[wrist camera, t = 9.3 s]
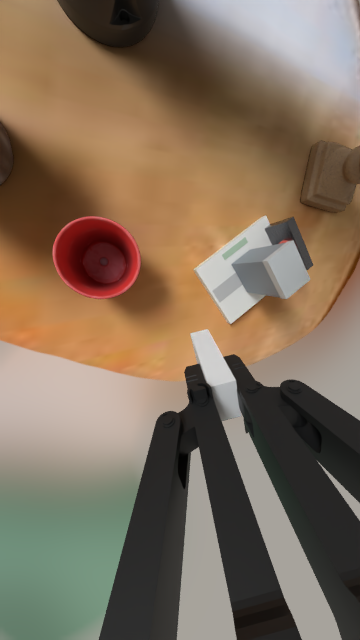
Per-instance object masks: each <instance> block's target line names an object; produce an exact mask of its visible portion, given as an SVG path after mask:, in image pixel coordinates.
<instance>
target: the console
mask: <svg viewBox="0 0 360 640" xmlns="http://www.w3.org/2000/svg"><path fill="white" fill-rule="evenodd" d="M292 240H294V243H295V245H296V247H297V250H298V252H299V254H300V257H301V259H302V261H303V264H304V266H305V268H306V270H308V269H309V268H310V267H312V266H313V263H312V261H311V258H310V256H309V253H308V251H307V248H306V246H305V244H304V241H303V239H302V236H301V234H300V231H299V229H298V226H297V224H296V222H295V219H294V217H291V218H288V219H285V220H282V221H279V222H276V223H273V224H270V223H269V221H268V219H267V217H266V215H265V216H263V217H261V218H259V219H258V220H257V221H256V222H254V223H253V224H252V225H250V226H249V227H248V228H246V229H245V230H244V231H243V232H241V233H240V234H239V235H237V236H236V237H235V238H233V239H232V240H231V241H230V242H228V243H227V244H226V245H224V246H223V247H222V248H221V249H219V250H218V251H217V252H215V253H214V254H213V255H211V256H210V257H209V258H208V259H206V260H205V261H204V262H202V263H201V264H200V265H198V266H197V267H196V268H195V269H193V270H194V272H195V274H196V275H197V277H198V278H199V280H200V281H201V283H202V284H203V286H204V287H205V289H206V290H207V292H208V294H209V295H210V297H211V298H212V300H213V301H214V303H215V304H216V306H217V307H218V309H219V311H220V312H221V314H222V315H223V317H224V318H225V320H226V321H227V323H229V324H231V323H233V322H234V321H235V320H236V319H238V318H239V317H240V316H241V315H242V314H244V313H245V312H246V311H247V310H249V309H250V308H251V307H252V306H254V305H255V304H256V303H257V302H258V301H260V300H261V299H262V298H263V297H265V296H266V295H261V294H254V293H248V292H247V291H246V290H245V288H244V286H243V284H242V282H241V281H240V279H239V277H238V275H237V274H236V272H235V270H234V268H233V267H232V265H231V264H232V263H233V262H235V261H236V260H237V259H239V258H240V257H241V256H242V255H244V254H245V253H246V252H248V251H249V250H250V249H255V248H260V247H266V246H271V245H276V244H281V243H286V242H287V241H292Z"/></svg>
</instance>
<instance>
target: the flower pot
mask: <svg viewBox="0 0 360 640" xmlns="http://www.w3.org/2000/svg"><path fill="white" fill-rule="evenodd" d="M53 261H54V265H55V268H56V270H57V272H58V274H59V276H60V277H61V279H62V280H63V281H64V282H65V283H66V284H67V285H68V286H69V287H70V288H71V289H73V290H74V291H76V292H77V293H79V294H81V295H84V296H86V297H90V298H95V299H107V298H113V297H116V296H118V295H121V294H122V293H124V292H126V291H127V290H128V289H129V288H130V287H131V286H132V285H133V284H134V282H135V281H136V279H137V277H138V274H139V272H140V266H141V256H140V251H139V248H138V245H137V243H136V241H135V240H134V238H133V237H132V235H131V234H130V233H129V232H128V231H127V230H126V229H125V228H124V227H123V226H121V225H120V224H118V223H116V222H114V221H112V220H110V219H107V218H103V217H97V216H88V217H82V218H79V219H76V220H74V221H72V222H70V223H68V224H67V225H66V226H65V227H64V228H63V229H62V230H61V231H60V232H59V234H58V235H57V237H56V239H55V242H54V245H53Z"/></svg>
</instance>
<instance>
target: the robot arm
mask: <svg viewBox="0 0 360 640" xmlns="http://www.w3.org/2000/svg"><path fill="white" fill-rule="evenodd" d="M58 2H59V4H60V5H61V7H62V8H63V10H64V11H65V13H66V14H67V15H68V16H69V18H70V19H71V20H72V21H73V22H74V23H75V24H76V25H77V26H78V27H79V28H80V29H81V30H82V31H83V32H85V33H86V34H87V35H89V36H90V37H92V38H93V39H95V40H97V41H99V42H101V43H103V44H106V45H110V46H115V47H125V46H130V45H133V44H135V43H137V42H139V41H140V40H142V39H143V38H144V37H145V36H146V35H147V34H148V32H149V31H150V29H151V27H152V25H153V23H154V21H155V18H156V14H157V9H158V2H159V0H58ZM190 334H191V339H192V343H193V347H194V351H195V356H196V360H197V363H198V364H196V365H192V366H188V367H186V369H185V372H184V373H185V378H186V383H187V388H188V390H187V394H188V398H189V404H188V406H187V407H186V408H185V409H184V410H182V411H181V412H179V413H176V412H174V411H168V412H165V413H163V414H162V415H160V417H159V418H158V419H157V421H156V425H155V429H154V432H153V437H152V440H151V444H150V447H149V451H148V455H147V459H146V463H145V466H144V470H143V474H142V478H141V482H140V485H139V489H138V493H137V497H136V500H135V504H134V508H133V512H132V516H131V520H130V523H129V527H128V531H127V535H126V538H125V542H124V546H123V550H122V554H121V557H120V561H119V565H118V569H117V572H116V576H115V580H114V584H113V588H112V591H111V595H110V599H109V603H108V607H107V610H106V614H105V618H104V622H103V626H102V630H101V633H100V637H99V640H177V627H178V626H177V625H178V614H179V613H178V612H179V600H180V587H181V575H182V561H183V547H184V535H185V522H186V509H187V495H188V483H189V470H190V456H191V452H192V451H193V450H194V449H196V448H198V447H199V449H200V454H201V459H202V464H203V469H204V474H205V479H206V484H207V489H208V493H209V499H210V503H211V508H212V513H213V518H214V523H215V528H216V533H217V538H218V543H219V548H220V553H221V558H222V562H223V567H224V572H225V577H226V582H227V587H228V592H229V596H230V602H231V607H232V612H233V618H234V625H235V631H236V636H237V640H302V639H301V637H300V634H299V631H298V629H297V626H296V624H295V621H294V619H293V616H292V614H291V612H290V610H289V608H288V606H287V603H286V601H285V599H284V596H283V593H282V591H281V588H280V585H279V582H278V579H277V576H276V574H275V571H274V568H273V565H272V562H271V560H270V557H269V554H268V551H267V548H266V546H265V543H264V540H263V537H262V534H261V532H260V528H259V526H258V523H257V520H256V517H255V514H254V512H253V509H252V506H251V503H250V500H249V497H248V495H247V492H246V489H245V486H244V484H243V481H242V478H241V475H240V472H239V469H238V467H237V464H236V461H235V458H234V455H233V452H232V449H231V447H230V444H229V441H228V438H227V435H226V433H225V430H224V427H223V424H222V421H224V420H228V419H232V418H236V417H240V416H241V413H242V415H243V417H244V424H245V431H246V433H248V432H249V434H250V437H251V438H252V441H253V443H254V445H255V447H256V449H257V452H258V454H259V456H260V458H261V460H262V462H263V464H264V467H265V469H266V471H267V473H268V475H269V477H270V479H271V481H272V484H273V486H274V488H275V490H276V492H277V494H278V497H279V499H280V501H281V503H282V505H283V507H284V509H285V512H286V514H287V516H288V518H289V520H290V522H291V524H292V527H293V529H294V531H295V533H296V535H297V537H298V539H299V541H300V544H301V546H302V548H303V550H304V552H305V554H306V557H307V559H308V561H309V563H310V565H311V567H312V569H313V572H314V574H315V576H316V578H317V580H318V582H319V585H320V587H321V589H322V591H323V593H324V595H325V597H326V600H327V602H328V604H329V606H330V608H331V610H332V613H333V615H334V617H335V620H336V622H337V625H338V628H339V632H340V635H341V638H342V640H360V521H359V519H358V518H357V516H356V515H355V514H354V512H353V511H352V509H351V508H350V507H349V505H348V504H347V502H346V501H345V500H344V498H343V497H342V495H341V494H340V493H339V491H338V490H337V488H336V487H335V486H334V484H333V483H332V481H331V480H330V479H329V477H328V476H327V474H326V473H325V472H324V470H323V469H322V467H321V466H320V465H319V464H318V462H319V463H320V464H321V465H322V466H323V467H324V468H325V469H326V470H327V471H328V472H329V473H330V474H331V475H332V476H333V477H334V478H335V479H336V480H337V481H338V482H339V483H340V484H341V485H342V486H343V487H344V488H345V489H346V490H347V491H348V492H349V493H350V494H351V495H352V496H353V497H354V498H355V499H356V500H357V501H358V502H360V421H359V420H358V419H356V418H355V417H353V416H352V415H350V414H349V413H347V412H346V411H344V410H343V409H341V408H340V407H338V406H337V405H335V404H334V403H332V402H331V401H329V400H328V399H327V398H325V397H324V396H322V395H321V394H319V393H318V392H316V391H314V390H313V389H312V388H310V387H309V386H307V385H306V384H304V383H302V382H300V381H297V380H286V381H284V382H282V383H281V385H280V387H266V386H263V385H262V384H261V383H260V382H257V381H255V379H254V378H253V377H252V375H251V373H250V372H249V371H248V369H247V368H246V367H245V365H244V363H243V362H242V360H241V359H240V357H238V356H236V355H234V354H233V355H229V356H225V357H223V356H222V354H221V352H220V351H219V349H218V347H217V345H216V343H215V342H214V340H213V338H212V336H211V334H210V332H209V331H208V329H206V330H202V331H198V332H194V333H190ZM240 411H241V412H240ZM317 461H318V462H317Z"/></svg>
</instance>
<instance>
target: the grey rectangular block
mask: <svg viewBox="0 0 360 640" xmlns="http://www.w3.org/2000/svg"><path fill="white" fill-rule="evenodd" d="M231 265H232V267H233V268H234V270H235V272H236V274H237V275H238V277H239V279H240V281H241V282H242V284H243V286H244V288H245V290H246V291H247V292H248V293H254V294H261V295H267V296H274V297H281V299H287V298H289V297H290V296H291V295H292V294H294V293H295V292H296V291H297V290H298V289H300V288H301V287H302V286H303V285H304V284H306V283H307V282H308V281H309V280H310V278H309V275H308V273H307V271H306V268H305V266H304V264H303V261H302V259H301V257H300V254H299V252H298V250H297V247H296V245H295V243H294V240H292V241H287V242H286V243H281V244H276V245H271V246H266V247H260V248H255V249H250V250H249V251H248V252H246V253H245V254H244V255H242V256H241V257H240V258H239V259H237V260H236V261H235V262H233V263H232V264H231Z"/></svg>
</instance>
